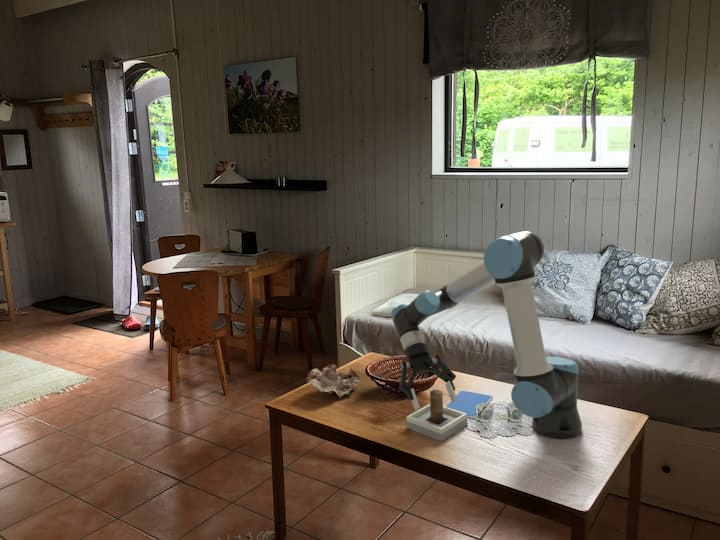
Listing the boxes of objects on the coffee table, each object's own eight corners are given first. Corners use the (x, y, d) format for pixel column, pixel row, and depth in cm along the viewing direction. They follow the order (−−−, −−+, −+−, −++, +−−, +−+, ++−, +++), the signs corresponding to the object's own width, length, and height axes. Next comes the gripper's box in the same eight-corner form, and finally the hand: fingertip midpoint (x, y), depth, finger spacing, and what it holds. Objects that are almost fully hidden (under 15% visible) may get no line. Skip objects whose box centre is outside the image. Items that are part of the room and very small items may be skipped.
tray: (467, 425, 199) (467, 413, 198) (441, 441, 189) (441, 429, 188) (432, 413, 209) (432, 402, 208) (406, 427, 199) (406, 416, 198)
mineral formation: (316, 404, 216) (327, 381, 214) (295, 379, 228) (305, 356, 226) (363, 405, 231) (373, 383, 229) (341, 381, 243) (350, 360, 240)
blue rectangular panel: (475, 421, 203) (475, 417, 203) (440, 413, 209) (440, 410, 209) (493, 399, 219) (493, 395, 219) (460, 392, 225) (460, 389, 225)
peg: (445, 426, 199) (445, 391, 196) (438, 430, 196) (437, 395, 194) (435, 422, 202) (435, 388, 199) (428, 426, 199) (427, 392, 196)
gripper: (442, 346, 215) (465, 402, 204) (378, 357, 206) (398, 416, 196) (450, 336, 209) (473, 393, 198) (383, 347, 200) (404, 407, 190)
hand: (436, 404), depth 197 cm, fingers open, 13 cm apart
